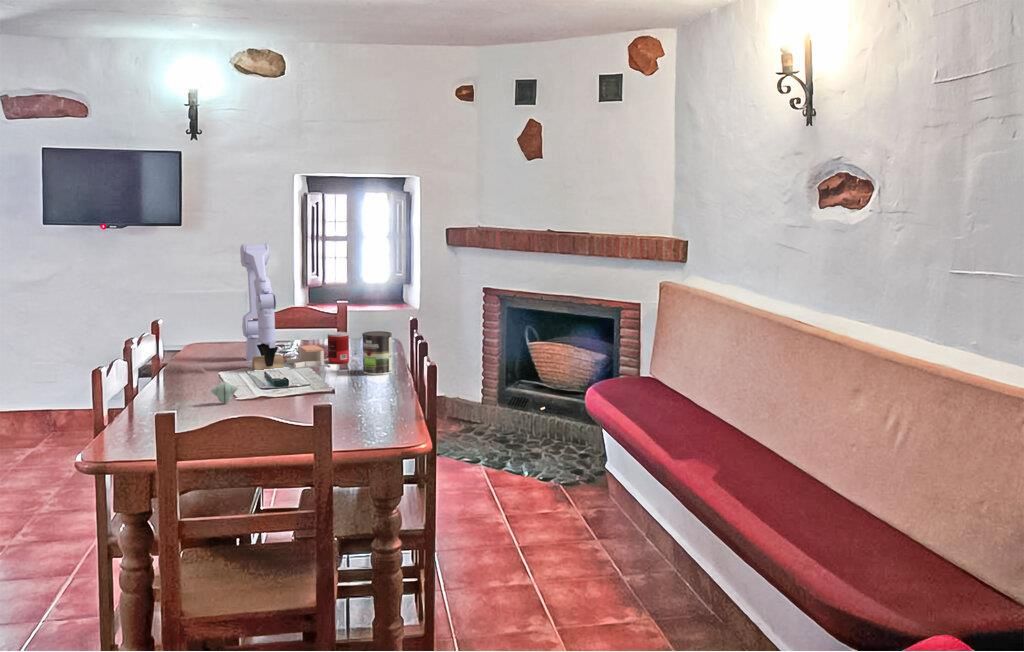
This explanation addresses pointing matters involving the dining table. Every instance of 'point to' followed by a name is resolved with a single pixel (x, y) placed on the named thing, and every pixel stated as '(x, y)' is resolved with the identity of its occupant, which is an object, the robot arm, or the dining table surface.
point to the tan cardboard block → (260, 364)
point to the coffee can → (377, 353)
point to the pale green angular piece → (224, 391)
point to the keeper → (306, 358)
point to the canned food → (338, 347)
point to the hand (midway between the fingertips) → (267, 365)
